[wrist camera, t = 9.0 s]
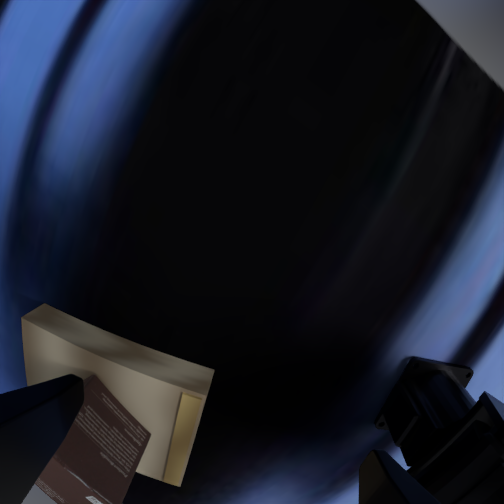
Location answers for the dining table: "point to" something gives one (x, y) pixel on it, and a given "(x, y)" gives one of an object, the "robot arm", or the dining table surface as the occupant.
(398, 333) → the dining table surface
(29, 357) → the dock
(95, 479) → the box
